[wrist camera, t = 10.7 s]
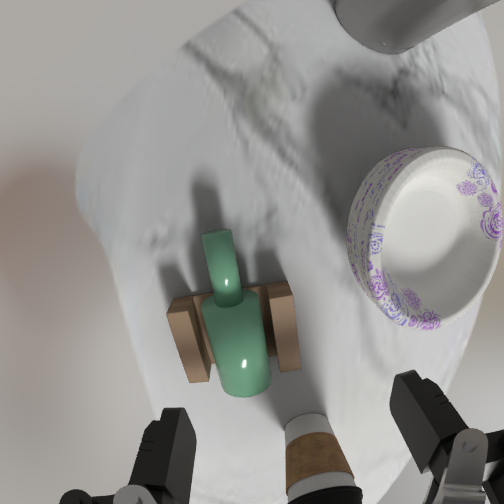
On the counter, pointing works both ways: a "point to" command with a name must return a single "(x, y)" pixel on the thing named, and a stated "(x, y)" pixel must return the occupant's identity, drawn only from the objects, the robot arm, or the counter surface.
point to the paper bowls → (425, 235)
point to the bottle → (234, 321)
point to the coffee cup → (317, 464)
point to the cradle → (274, 322)
